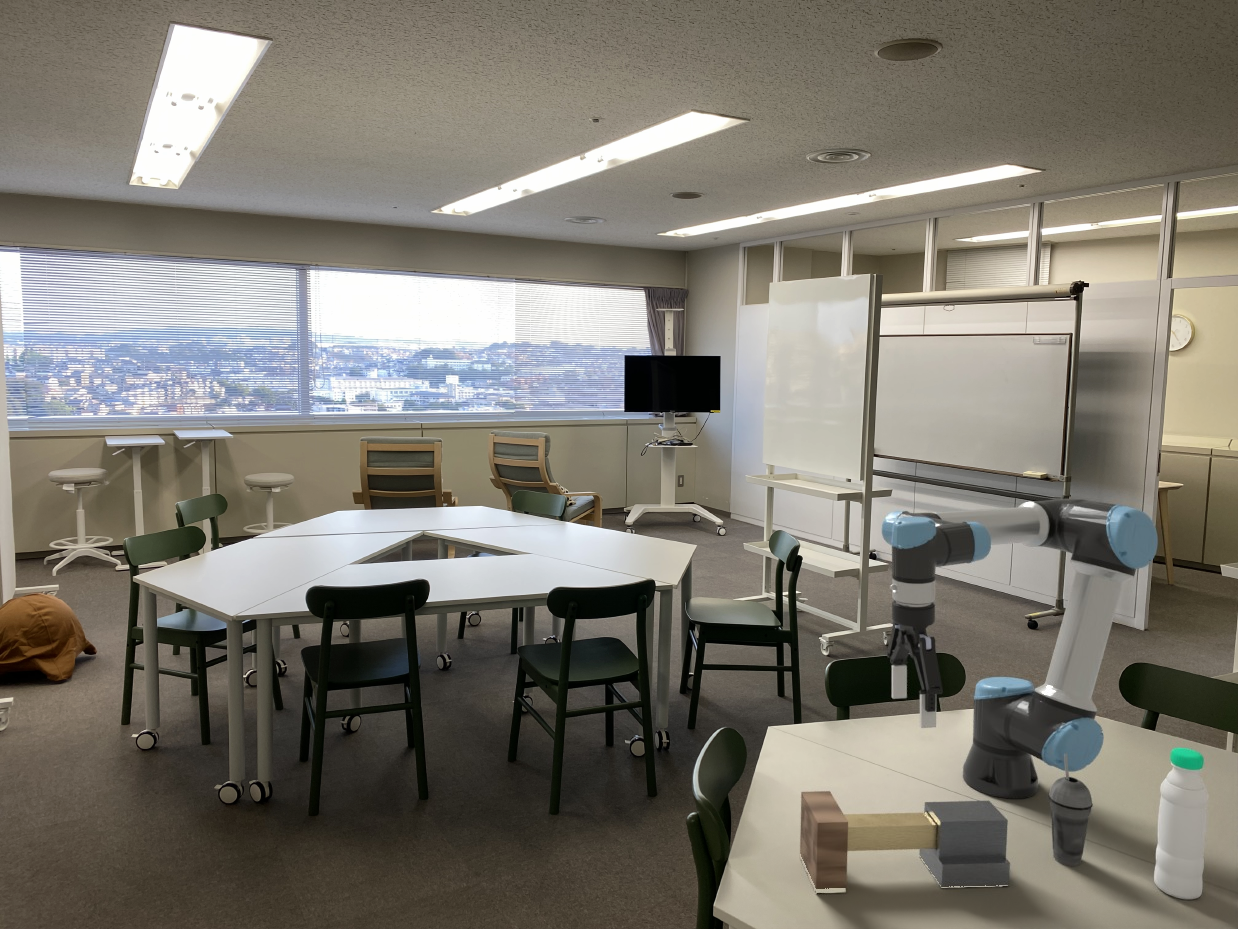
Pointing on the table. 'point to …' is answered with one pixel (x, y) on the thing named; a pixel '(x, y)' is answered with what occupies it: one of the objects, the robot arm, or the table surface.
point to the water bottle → (1182, 827)
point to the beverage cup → (1069, 817)
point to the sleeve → (968, 844)
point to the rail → (891, 831)
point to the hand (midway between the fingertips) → (912, 711)
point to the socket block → (824, 839)
